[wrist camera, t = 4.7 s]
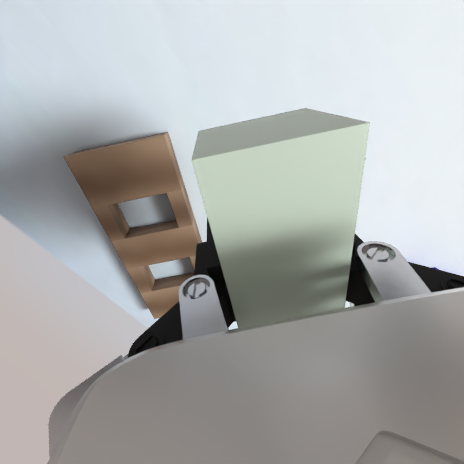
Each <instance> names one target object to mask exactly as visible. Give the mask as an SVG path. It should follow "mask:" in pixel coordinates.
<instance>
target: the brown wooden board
mask: <svg viewBox="0 0 464 464" xmlns="http://www.w3.org/2000/svg"><path fill="white" fill-rule="evenodd" d="M64 159H65V160H66V162H67V164H68V166H69V168H70V169H71V171H72V173H73V175H74V176H75V178H76V180H77V182H78V184H79V185H80V187H81V189H82V191H83V192H84V194H85V196H86V198H87V200H88V201H89V203H90V205H91V207H92V209H93V210H94V212H95V214H96V216H97V217H98V219H99V221H100V223H101V225H102V226H103V228H104V230H105V232H106V233H107V235H108V237H109V239H110V241H111V242H112V244H113V246H114V248H115V249H116V251H117V253H118V255H119V257H120V258H121V260H122V262H123V264H124V265H125V267H126V269H127V271H128V273H129V274H130V276H131V278H132V280H133V282H134V283H135V285H136V287H137V289H138V290H139V292H140V294H141V296H142V298H143V299H144V301H145V303H146V305H147V306H148V308H149V310H150V312H151V314H152V315H153V317H154V319H156V318H161V317H162V316H163V315H164V314H165V313H166V312H167V311H168V310H170V309H171V308H172V307H173V306H174V305H175V304H176V303H177V302H178V301H179V288H180V286H181V285H182V284H183V282H184V281H186V280H187V279H188V278H190V277H193V276H194V273H189V274H184V275H179V276H174V277H168V278H163V279H158V280H155V279H154V277H153V275H152V273H151V271H150V269H149V266H148V265H152V264H157V263H162V262H167V261H172V260H177V259H182V258H187V257H190V260H191V263H192V265H193V268H194V270H195V258H196V246H197V244H198V243H202V241H201V237H200V234H199V231H198V228H197V224H196V221H195V218H194V215H193V211H192V208H191V205H190V202H189V198H188V195H187V192H186V189H185V185H184V182H183V179H182V176H181V172H180V169H179V166H178V163H177V160H176V156H175V153H174V150H173V147H172V143H171V140H170V137H169V134H168V132H167V133H162V134H157V135H153V136H148V137H143V138H139V139H134V140H129V141H125V142H120V143H115V144H111V145H106V146H101V147H97V148H92V149H87V150H83V151H78V152H74V153H72V154H70V155H67V156H65V157H64ZM164 193H167V196H168V198H169V201H170V204H171V207H172V210H173V212H174V215H175V218H176V220H174V221H169V222H164V223H159V224H154V225H149V226H144V227H139V228H134V229H130V228H129V226H128V224H127V222H126V220H125V218H124V216H123V214H122V212H121V210H120V207H119V205H118V203H120V202H125V201H130V200H135V199H139V198H144V197H149V196H154V195H159V194H164Z"/></svg>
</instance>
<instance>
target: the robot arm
mask: <svg viewBox="0 0 464 464" xmlns="http://www.w3.org/2000/svg"><path fill="white" fill-rule="evenodd" d="M346 301H348V302H349V304H350V307H348V308H343V309H337V310H332V311H327V312H321V313H316V314H311V315H305V316H300V317H295V318H289V319H284V320H279V321H274V322H269V323H263V324H258V325H253V326H248V327H243V328H238V329H232V330H229V329H228V327H229V326H230V325H231V324H232V323H233V322H234V321H236V318H235V314H234V310H233V307H232V303H231V300H230V296H229V293H228V289H227V285H226V282H225V278H224V275H223V271H222V267H221V264H220V260H219V257H218V253H217V250H216V246H215V242H214V239H213V235H212V232H211V228H210V224H209V221H208V217H207V242H203V243H198V244H197V246H196V258H195V270H194V276H193V277H190V278H188V279H187V280H186V281H184V282H183V284H182V285H181V286H180V288H179V301H178V302H177V303H176V304H175V305H174V306H173V307H172V308H171V309H170V310H168V311H167V312H166V313H165V314H164V315H163V316H162V317H161V318H160V319H158V320H157V321H156V322H155V323H154V324H153V325H152V326H151V327H150V328H148V329H147V330H146V331H145V332H144V333H143V334H142V335H141V336H140V337H139V338H138V339H137V340H136V341H135V342H134V343H133V345H132V346H131V348H130V351H129V354H127V355H126V356H125V357H122V356H119V357H118V358H116V359H115V360H114V361H112V362H111V363H109V364H108V365H106V366H105V367H104V368H102V369H101V370H99V371H98V372H96V373H95V374H94V375H92V376H91V377H90V378H88V379H86V380H85V381H84V382H82V383H81V384H80V385H78V386H77V387H75V388H74V389H72V390H71V391H70V392H68V393H67V394H66V395H65V396H64V397H63V398H61V399H60V401H59V402H58V403H57V405H56V406H55V407H54V409H53V411H52V413H51V415H50V419H49V453H50V459H49V461H48V463H47V464H464V276H460V275H456V274H452V273H448V272H445V271H441V270H437V269H433V268H429V267H426V266H422V265H418V264H414V263H410V262H407V261H406V259H405V258H404V257H403V256H402V254H401V253H400V252H399V251H398V250H397V249H396V248H395V247H393V246H392V245H390V244H387V243H384V242H378V241H370V242H365V243H364V242H363V241H362V240H361V239H360V238H359V237H358V236H357V235H356V234H355V235H354V242H353V250H352V257H351V265H350V272H349V279H348V287H347V294H346Z"/></svg>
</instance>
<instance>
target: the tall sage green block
mask: <svg viewBox="0 0 464 464" xmlns="http://www.w3.org/2000/svg"><path fill="white" fill-rule="evenodd" d="M369 124H370V122H365V121H361V120H356V119H352V118H347V117H343V116H338V115H334V114H329V113H325V112H320V111H316V110H311V109H307V108H304V109H299V110H294V111H290V112H285V113H280V114H276V115H271V116H266V117H262V118H257V119H252V120H248V121H243V122H238V123H234V124H229V125H224V126H220V127H215V128H210V129H206V130H201V131H199V132H198V136H197V140H196V144H195V148H194V152H193V156H192V164H193V167H194V171H195V174H196V178H197V181H198V185H199V189H200V192H201V196H202V199H203V203H204V207H205V210H206V214H207V217H208V221H209V224H210V228H211V232H212V235H213V239H214V242H215V246H216V250H217V253H218V257H219V260H220V264H221V267H222V271H223V275H224V278H225V282H226V285H227V289H228V293H229V296H230V300H231V303H232V307H233V310H234V314H235V318H236V321H237V325H238V328H243V327H248V326H253V325H258V324H263V323H269V322H274V321H279V320H284V319H289V318H295V317H300V316H305V315H311V314H316V313H321V312H327V311H332V310H337V309H343V308H345V302H346V294H347V287H348V279H349V272H350V265H351V257H352V250H353V242H354V235H355V228H356V220H357V213H358V206H359V198H360V191H361V183H362V176H363V169H364V161H365V154H366V146H367V139H368V132H369Z"/></svg>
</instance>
